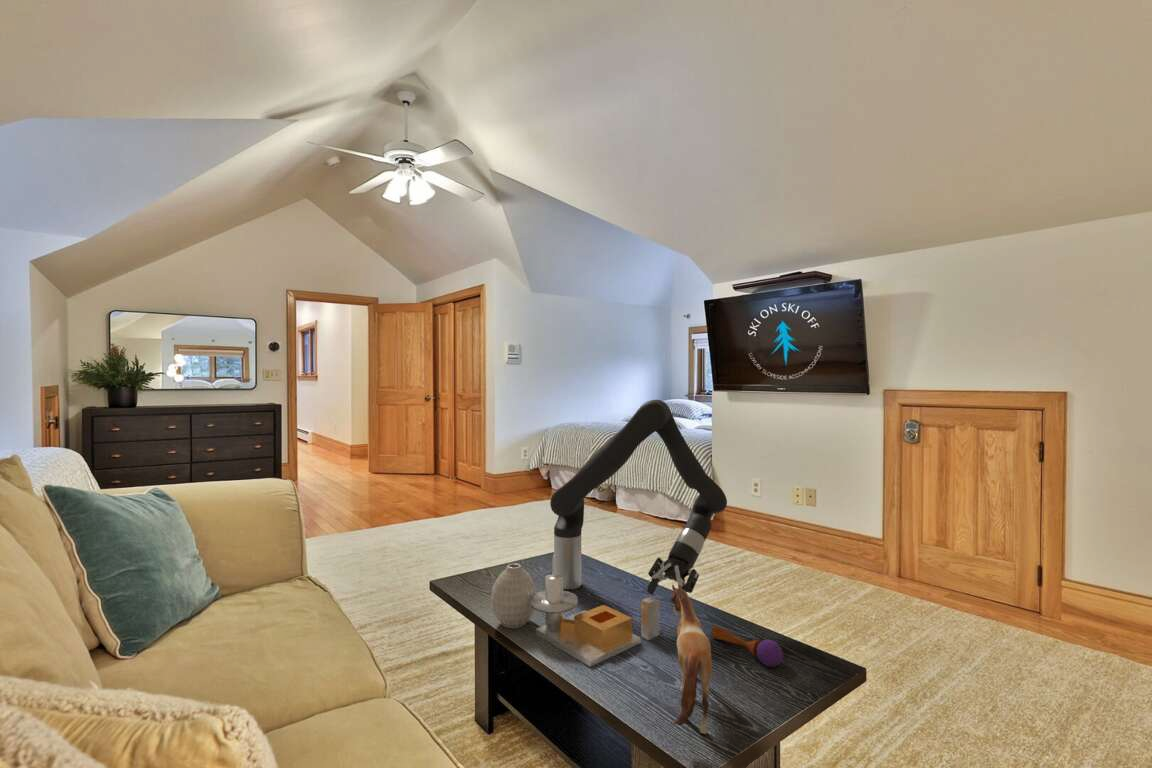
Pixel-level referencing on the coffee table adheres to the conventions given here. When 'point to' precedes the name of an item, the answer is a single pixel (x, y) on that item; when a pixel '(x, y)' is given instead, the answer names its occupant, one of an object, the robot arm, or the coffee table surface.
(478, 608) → the coffee table surface
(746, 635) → the coffee table surface
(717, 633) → the kendama
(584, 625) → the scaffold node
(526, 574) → the vase
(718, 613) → the coffee table surface
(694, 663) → the horse figurine
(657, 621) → the grey rectangular peg
